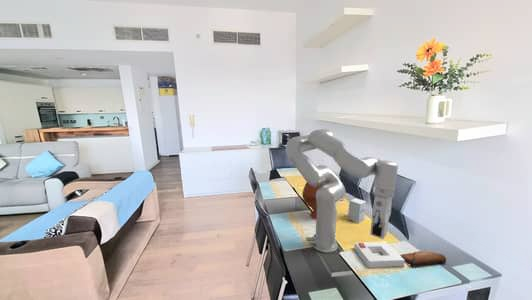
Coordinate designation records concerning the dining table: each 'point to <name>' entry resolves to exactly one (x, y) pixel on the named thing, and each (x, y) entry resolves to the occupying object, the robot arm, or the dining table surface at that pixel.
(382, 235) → the plug
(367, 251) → the socket plate
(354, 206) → the supplement box
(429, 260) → the sunglasses case
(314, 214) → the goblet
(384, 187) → the robot arm
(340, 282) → the dining table surface
